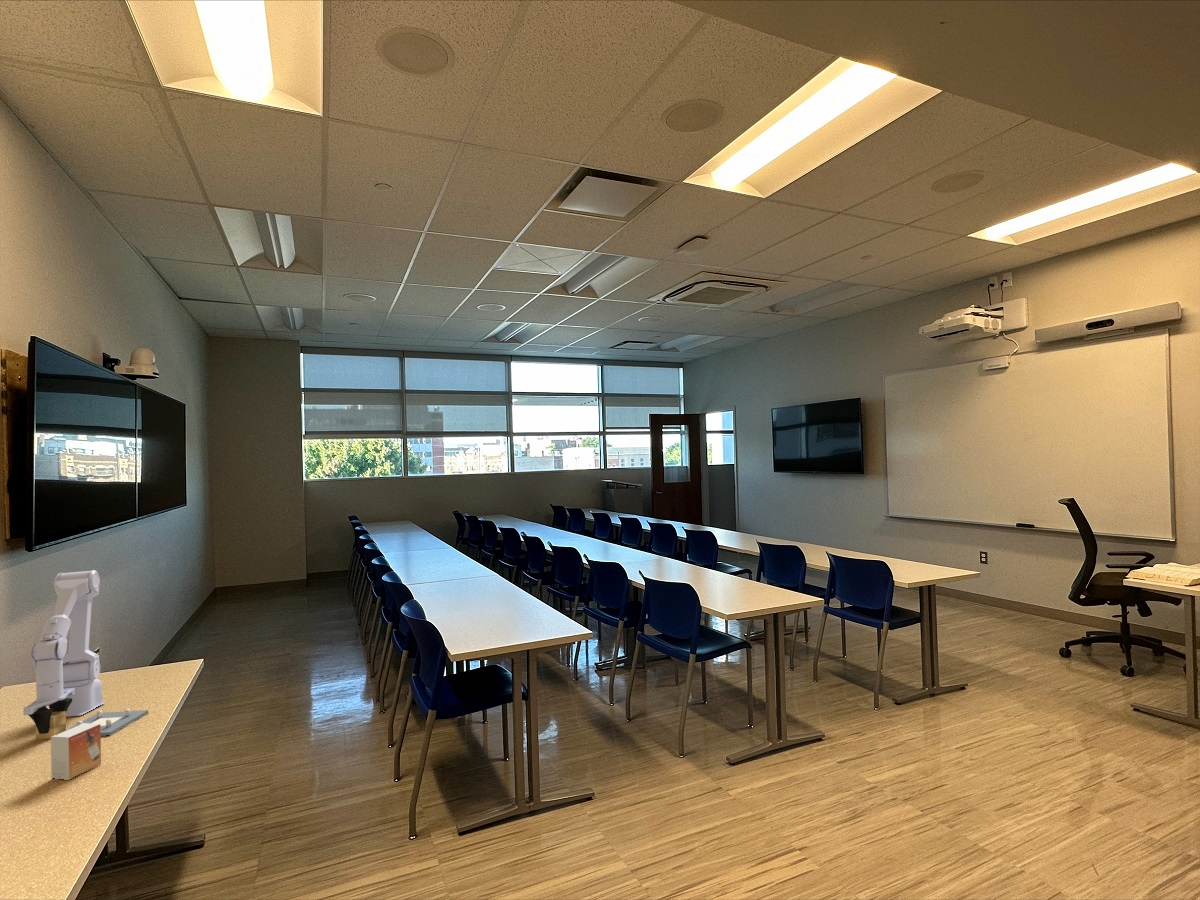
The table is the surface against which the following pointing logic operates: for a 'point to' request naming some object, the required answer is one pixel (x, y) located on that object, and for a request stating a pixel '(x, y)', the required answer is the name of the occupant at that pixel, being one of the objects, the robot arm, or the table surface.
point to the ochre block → (54, 725)
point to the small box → (75, 751)
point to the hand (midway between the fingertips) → (51, 729)
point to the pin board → (112, 720)
